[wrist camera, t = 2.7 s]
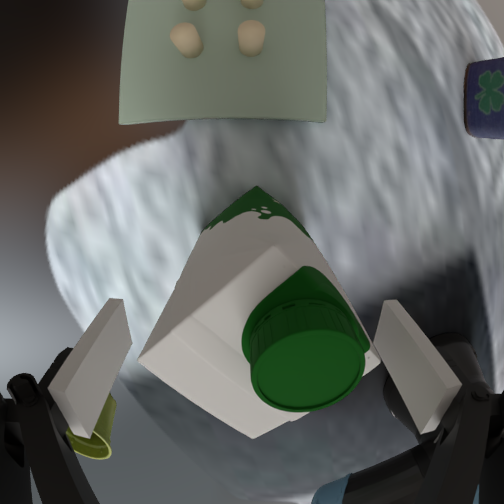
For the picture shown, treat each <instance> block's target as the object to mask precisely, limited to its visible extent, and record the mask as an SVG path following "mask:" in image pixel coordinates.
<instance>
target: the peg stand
mask: <svg viewBox="0 0 504 504" xmlns="http://www.w3.org/2000/svg"><path fill="white" fill-rule="evenodd" d="M119 100H120V101H119V124H123V125H127V124H137V123H147V122H158V121H159V122H160V121H174V120H193V119H274V120H294V121H308V122H320V123H323V122H326V111H327V50H326V18H325V0H129V2H128V8H127V15H126V23H125V31H124V41H123V50H122V62H121V77H120V98H119Z"/></svg>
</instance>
